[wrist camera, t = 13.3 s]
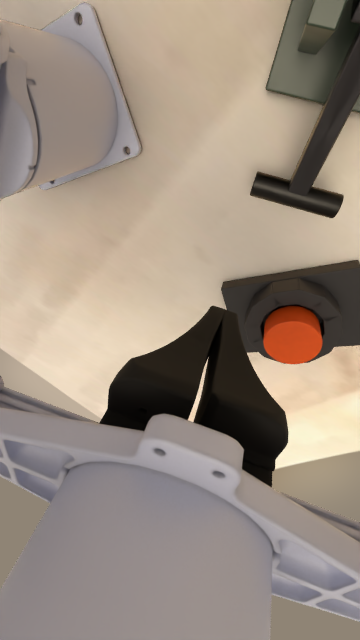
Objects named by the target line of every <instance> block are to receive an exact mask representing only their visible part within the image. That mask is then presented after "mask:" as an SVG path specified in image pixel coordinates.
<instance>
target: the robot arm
mask: <svg viewBox="0 0 360 640" xmlns="http://www.w3.org/2000/svg"><path fill="white" fill-rule="evenodd" d="M79 14H81V16H82V19H83V20H82V24H81V25H80V24H79V23H78V16H79ZM126 146H127V147H129V149H130V154H127V153H126V150H125V148H126ZM140 152H141V144H140V141H139V138H138V136H137V133H136V130H135V127H134V124H133V121H132V118H131V115H130V112H129V109H128V106H127V103H126V100H125V97H124V95H123V92H122V89H121V86H120V83H119V80H118V77H117V74H116V71H115V68H114V65H113V62H112V59H111V56H110V54H109V51H108V48H107V45H106V42H105V39H104V36H103V33H102V30H101V27H100V24H99V21H98V18H97V15H96V13H95V10H94V8H93V7H92V6H91V5H90V4H88V3H86V2H83V3H80V4H79V5H78V6H76V7H75V8H73V9H72V10H70V11H69V12H67V13H66V14H64V15H63V16H61V17H60V18H58V19H57V20H55V21H54V22H52V23H51V24H49V25H48V26H46V27H45V28H43V29H42V30H38V29H34V28H30V27H27V26H23V25H20V24H16V23H12V22H9V21H5V20H1V19H0V201H1V200H2V199H3V198H5V197H7V196H10V195H13V194H15V193H19V192H21V191H24V190H27V189H30V188H32V187H35V186H39V187H40V188H41V189H42V190H48V189H50V188H53V187H55V186H58V185H61V184H63V183H66V182H69V181H71V180H74V179H77V178H79V177H82V176H84V175H87V174H90V173H92V172H95V171H98V170H100V169H103V168H106V167H108V166H111V165H114V164H116V163H119V162H121V161H124V160H127V159H129V158H132V157H135V156H137V155H139V154H140ZM52 180H55V182H53V181H52ZM208 357H209V358H208ZM207 359H208V364H207V369H206V374H205V380H204V385H203V390H202V395H201V399H200V402H199V405H198V409H197V412H196V416H195V419H194V422H191V421H188V418H189V415H190V412H191V410H192V407H193V404H194V402H195V399H196V395H197V392H198V389H199V384H200V380H201V377H202V373H203V369H204V366H205V364H206V361H207ZM287 443H288V426H287V420H286V415H285V411H284V410H283V409H282V408H281V407H280V406H279V405H278V403H277V402H276V401H275V400H274V399H273V398H272V397H271V395H270V394H269V393H268V391H267V390H266V389H265V387H264V386H263V384H262V382H261V381H260V379H259V378H258V376H257V374H256V372H255V371H254V369H253V367H252V364H251V362H250V360H249V358H248V355H247V353H246V350H245V347H244V344H243V340H242V337H241V333H240V328H239V322H238V315H237V313H234V312H231V311H228V310H225V309H222V308H219V307H216V306H211V307H210V309H209V310H208V312H207V313H206V314H205V315H204V316H203V318H202V319H201V320H200V321H199V322H198V323H197V324H196V325H194V326H193V327H192V328H191V329H190V330H189V331H187V332H186V333H185V334H183V335H182V336H181V337H179V338H178V339H176V340H175V341H173V342H171V343H169V344H168V345H166V346H164V347H162V348H160V349H157V350H155V351H153V352H150V353H148V354H145V355H142V356H138V357H135V358H131V359H130V360H129V361H128V362H127V363H126V364H125V365H124V367H123V368H122V369H121V370H120V371H119V372H118V374H117V375H116V377H115V378H114V380H113V382H112V383H111V385H110V388H109V395H108V409H107V411H106V413H105V414H104V416H103V418H102V420H101V421H100V423H98V422H95V421H92V420H90V419H87V418H84V417H82V416H79V415H77V414H74V413H71V412H69V411H66V410H63V409H61V408H58V407H56V406H53V405H51V404H47V403H45V402H43V401H40V400H37V399H35V398H32V397H30V396H27V395H24V394H22V393H19V392H16V391H14V390H11V389H8V388H6V387H4V382H3V379H2V377H1V376H0V476H1V477H3V478H5V479H7V480H8V481H10V482H12V483H14V484H16V485H18V486H19V487H21V488H23V489H25V490H27V491H28V492H30V493H32V494H34V495H36V496H38V497H39V498H41V499H43V500H45V501H47V502H49V503H50V505H49V506H48V508H47V510H46V512H45V513H44V515H43V517H42V518H41V520H40V522H39V523H38V525H37V527H36V529H35V530H34V532H33V534H32V536H31V537H30V539H29V541H28V543H27V544H26V546H25V548H24V549H23V551H22V553H21V555H20V556H19V558H18V560H17V561H16V563H15V565H14V567H13V569H12V570H11V572H10V573H9V575H8V577H7V579H6V580H5V582H4V584H3V586H2V587H1V589H0V640H270V628H271V625H270V624H271V595H275V596H278V597H281V598H285V599H288V600H291V601H294V602H298V603H301V604H304V605H308V606H311V607H315V608H318V609H321V610H324V611H328V612H331V613H334V614H337V615H340V616H344V617H346V618H350V619H353V620H356V621H359V622H360V522H358V521H355V520H353V519H350V518H347V517H345V516H342V515H339V514H337V513H334V512H331V511H329V510H326V509H323V508H321V507H318V506H316V505H313V504H310V503H308V502H305V501H303V500H300V499H297V498H295V497H292V496H289V495H287V494H284V493H281V492H279V491H276V490H274V489H273V488H272V471H274V469H275V459H276V458H277V457H278V455H279V454H280V453H281V452H282V451H283V449H284V448H285V447H286V445H287Z"/></svg>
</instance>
